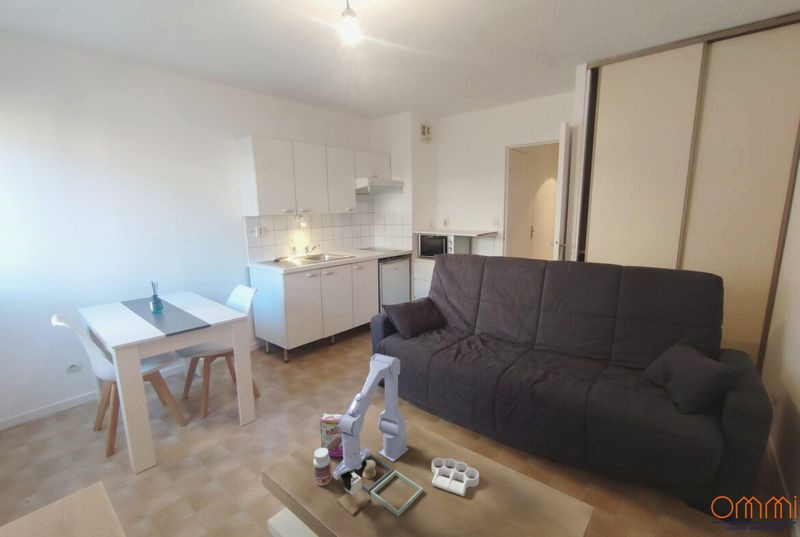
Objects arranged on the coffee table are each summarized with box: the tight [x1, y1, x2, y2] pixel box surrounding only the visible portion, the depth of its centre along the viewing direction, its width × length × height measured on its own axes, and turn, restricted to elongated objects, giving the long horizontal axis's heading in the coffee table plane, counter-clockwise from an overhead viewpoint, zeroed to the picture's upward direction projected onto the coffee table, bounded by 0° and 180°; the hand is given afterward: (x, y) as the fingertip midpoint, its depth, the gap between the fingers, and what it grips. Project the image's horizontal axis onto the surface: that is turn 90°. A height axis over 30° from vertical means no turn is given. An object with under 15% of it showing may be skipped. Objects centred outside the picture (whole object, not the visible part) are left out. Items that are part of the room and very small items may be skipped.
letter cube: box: [344, 471, 363, 495], centre depth 118 cm, size 4×4×4 cm
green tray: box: [369, 470, 424, 517], centre depth 122 cm, size 13×13×2 cm
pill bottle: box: [313, 447, 333, 486], centre depth 128 cm, size 6×6×11 cm
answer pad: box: [336, 489, 371, 516], centre depth 119 cm, size 8×8×1 cm
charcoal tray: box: [349, 453, 395, 495], centre depth 131 cm, size 13×13×2 cm
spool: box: [362, 459, 377, 480], centre depth 131 cm, size 5×5×4 cm
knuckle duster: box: [431, 457, 480, 497], centre depth 129 cm, size 3×18×15 cm
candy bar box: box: [319, 413, 343, 458], centre depth 141 cm, size 11×5×16 cm, turn 85°
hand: (353, 484), depth 118 cm, fingers closed on letter cube, 4 cm apart
